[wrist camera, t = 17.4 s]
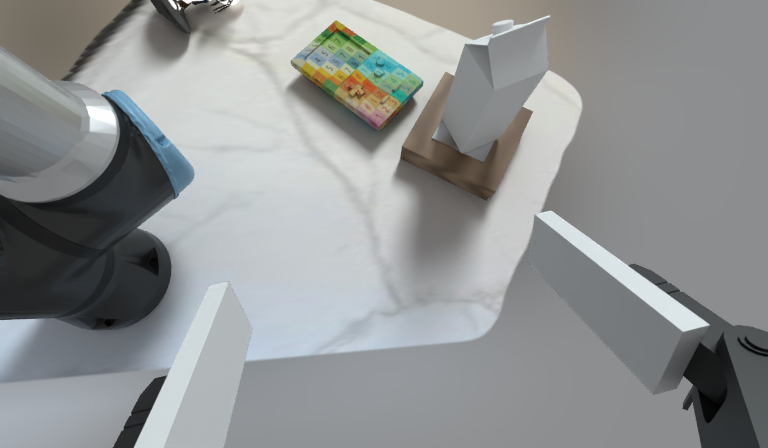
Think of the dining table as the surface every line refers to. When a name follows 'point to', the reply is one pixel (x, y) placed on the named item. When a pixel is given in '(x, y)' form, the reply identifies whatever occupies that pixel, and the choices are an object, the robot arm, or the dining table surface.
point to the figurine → (172, 4)
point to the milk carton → (495, 81)
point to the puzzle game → (357, 74)
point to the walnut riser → (443, 157)
